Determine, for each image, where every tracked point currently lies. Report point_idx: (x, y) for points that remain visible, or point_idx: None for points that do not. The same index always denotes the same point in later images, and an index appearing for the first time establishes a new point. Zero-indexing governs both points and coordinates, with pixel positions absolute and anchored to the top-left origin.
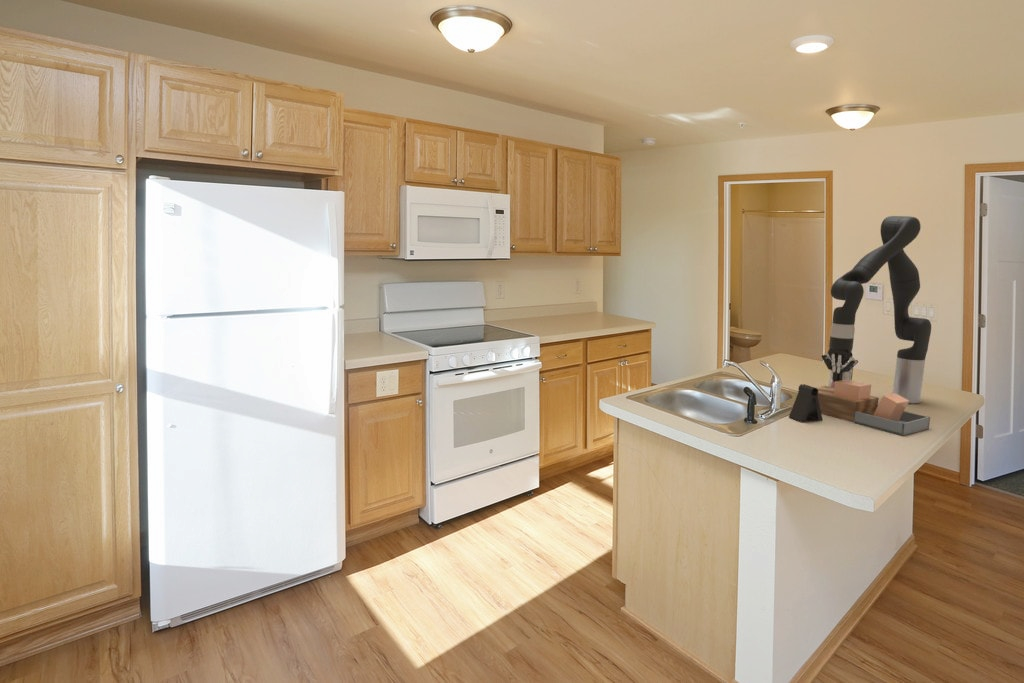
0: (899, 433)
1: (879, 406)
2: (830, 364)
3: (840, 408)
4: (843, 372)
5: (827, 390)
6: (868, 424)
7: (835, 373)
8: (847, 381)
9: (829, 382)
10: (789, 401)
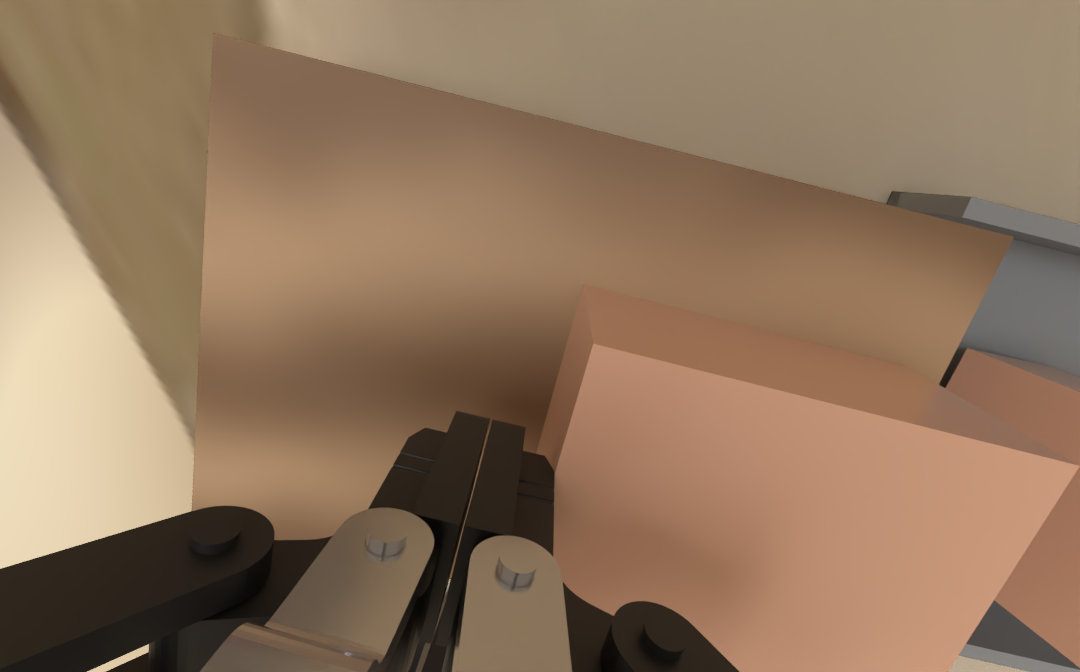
0: None
1: (1019, 611)
2: (48, 619)
3: None
4: (575, 620)
5: (381, 340)
6: None
7: (422, 627)
8: (663, 517)
9: None
10: (115, 278)
